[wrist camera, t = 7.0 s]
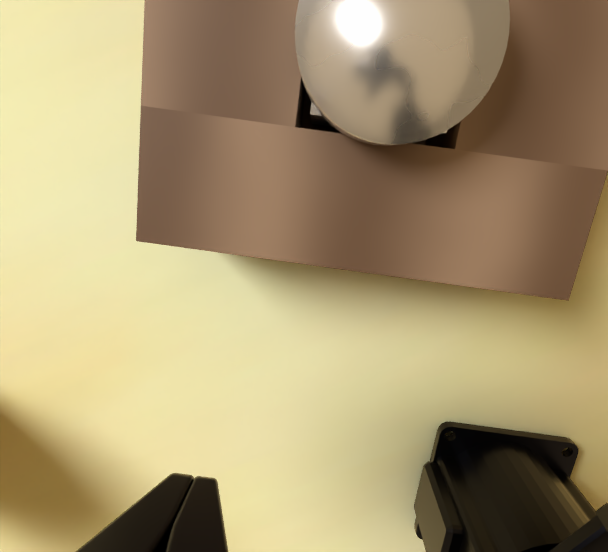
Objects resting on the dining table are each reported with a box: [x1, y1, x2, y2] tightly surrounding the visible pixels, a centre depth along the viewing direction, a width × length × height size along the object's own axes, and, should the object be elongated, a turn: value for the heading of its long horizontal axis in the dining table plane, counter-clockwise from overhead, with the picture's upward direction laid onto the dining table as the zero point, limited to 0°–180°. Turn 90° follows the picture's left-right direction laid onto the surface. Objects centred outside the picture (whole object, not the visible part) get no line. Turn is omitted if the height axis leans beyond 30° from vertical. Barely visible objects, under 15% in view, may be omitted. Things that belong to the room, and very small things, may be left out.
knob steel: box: [295, 0, 510, 146], centre depth 13 cm, size 5×5×5 cm
